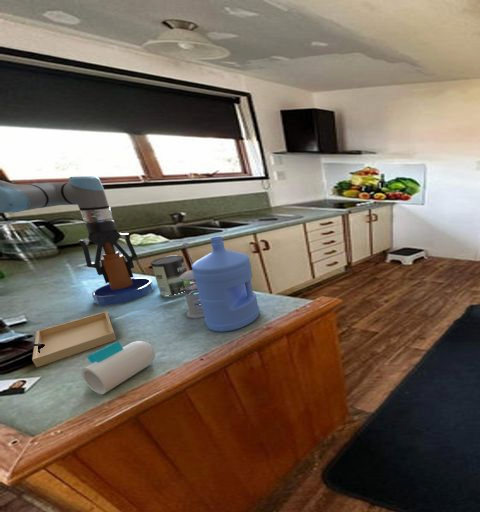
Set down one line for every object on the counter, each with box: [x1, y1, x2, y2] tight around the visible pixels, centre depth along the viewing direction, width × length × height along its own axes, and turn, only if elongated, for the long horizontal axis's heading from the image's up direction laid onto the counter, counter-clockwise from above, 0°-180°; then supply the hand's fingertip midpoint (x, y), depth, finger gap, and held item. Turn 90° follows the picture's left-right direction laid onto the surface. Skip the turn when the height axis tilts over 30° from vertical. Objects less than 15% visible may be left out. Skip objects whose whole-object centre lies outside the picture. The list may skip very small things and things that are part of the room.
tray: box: [31, 310, 118, 368], centre depth 81 cm, size 15×19×2 cm
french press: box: [180, 242, 205, 319], centre depth 93 cm, size 10×12×25 cm
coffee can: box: [150, 255, 191, 298], centre depth 108 cm, size 10×10×14 cm
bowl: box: [91, 277, 155, 306], centre depth 107 cm, size 17×17×4 cm
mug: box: [80, 340, 156, 395], centre depth 66 cm, size 12×9×12 cm
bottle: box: [100, 242, 133, 289], centre depth 103 cm, size 6×6×18 cm
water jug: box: [191, 236, 260, 332], centre depth 85 cm, size 16×16×28 cm
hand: (119, 279), depth 105 cm, fingers closed on bottle, 6 cm apart
